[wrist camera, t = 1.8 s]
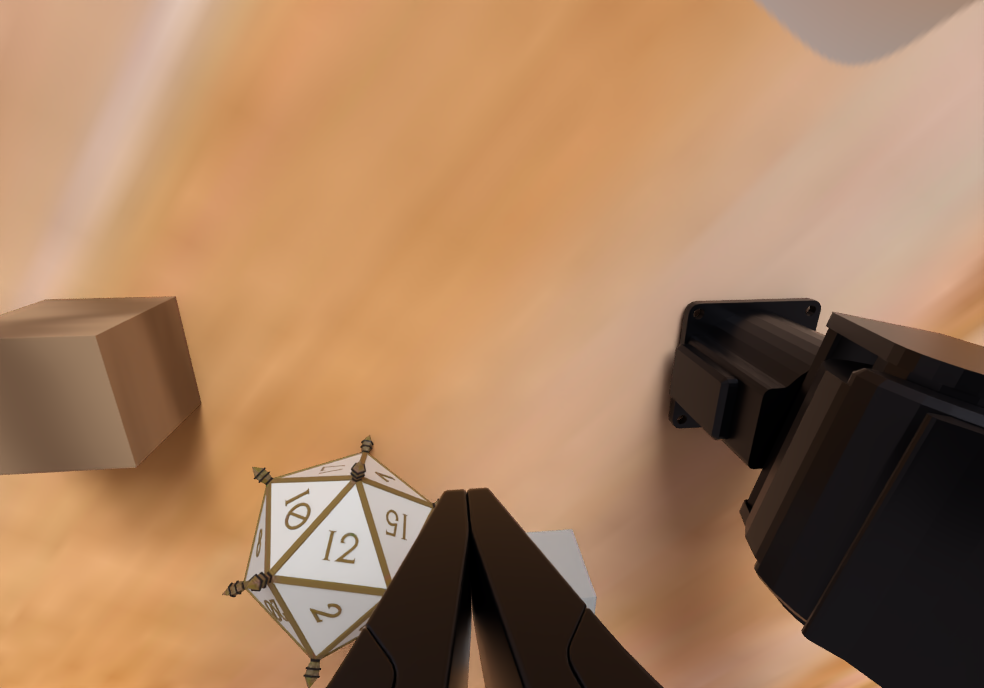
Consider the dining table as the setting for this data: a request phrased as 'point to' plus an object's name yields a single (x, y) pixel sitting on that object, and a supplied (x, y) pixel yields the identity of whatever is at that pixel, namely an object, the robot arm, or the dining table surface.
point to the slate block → (567, 561)
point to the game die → (330, 548)
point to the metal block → (91, 383)
